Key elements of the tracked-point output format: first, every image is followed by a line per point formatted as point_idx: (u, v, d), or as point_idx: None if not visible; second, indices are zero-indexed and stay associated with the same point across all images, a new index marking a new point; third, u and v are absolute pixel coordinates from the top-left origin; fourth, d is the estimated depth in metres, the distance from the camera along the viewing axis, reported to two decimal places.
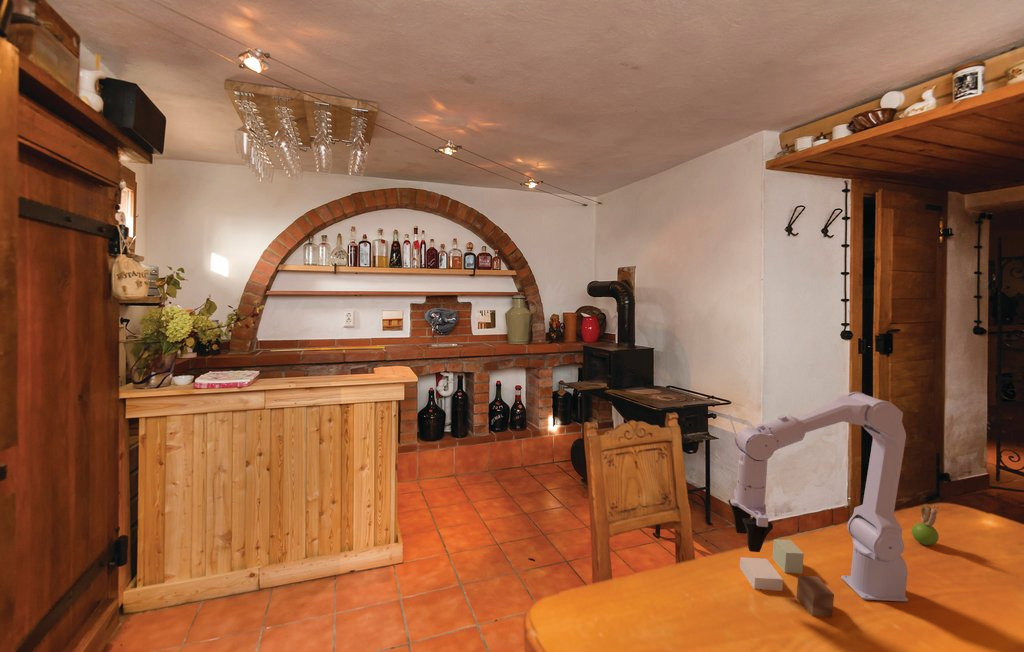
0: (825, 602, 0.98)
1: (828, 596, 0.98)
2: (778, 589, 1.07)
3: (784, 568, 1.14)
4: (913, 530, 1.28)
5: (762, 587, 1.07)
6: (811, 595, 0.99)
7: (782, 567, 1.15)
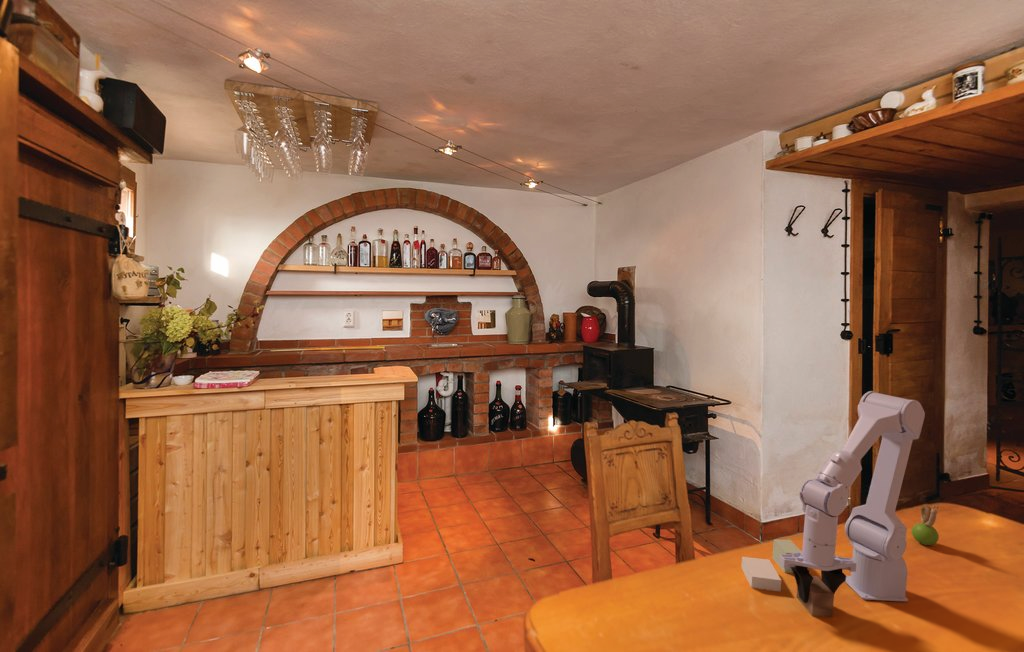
0: (826, 601, 0.98)
1: (828, 596, 0.98)
2: (776, 590, 1.07)
3: (784, 568, 1.14)
4: (913, 530, 1.28)
5: (760, 586, 1.07)
6: (812, 595, 0.99)
7: (782, 567, 1.15)
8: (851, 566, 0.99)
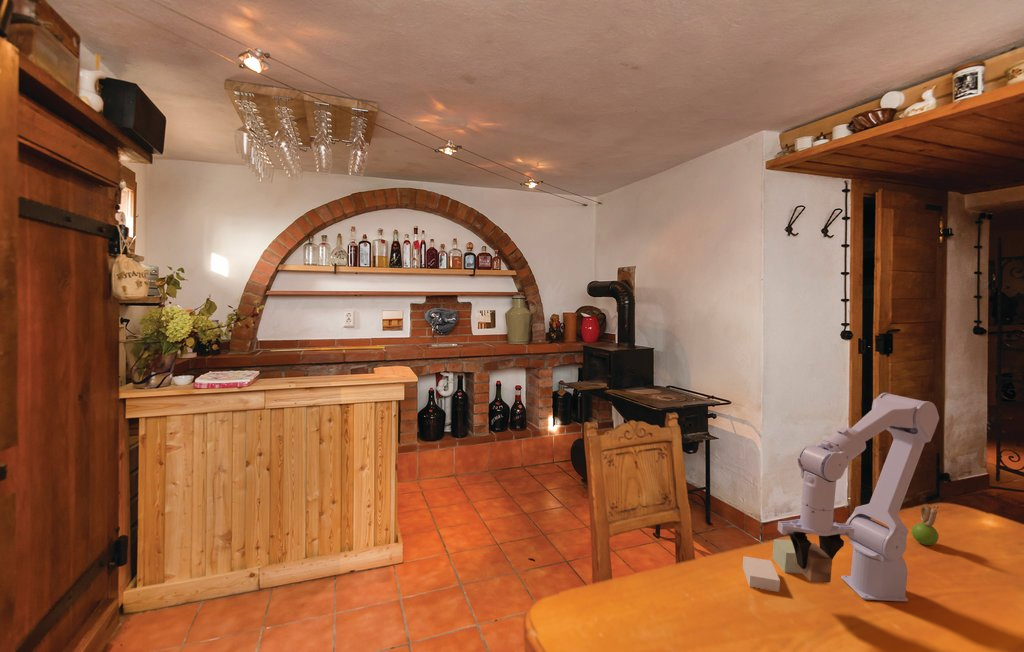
0: (824, 567, 0.98)
1: (826, 561, 0.98)
2: (775, 590, 1.06)
3: (784, 568, 1.14)
4: (913, 530, 1.28)
5: (758, 586, 1.07)
6: (810, 560, 0.99)
7: (782, 567, 1.15)
8: (849, 532, 0.99)
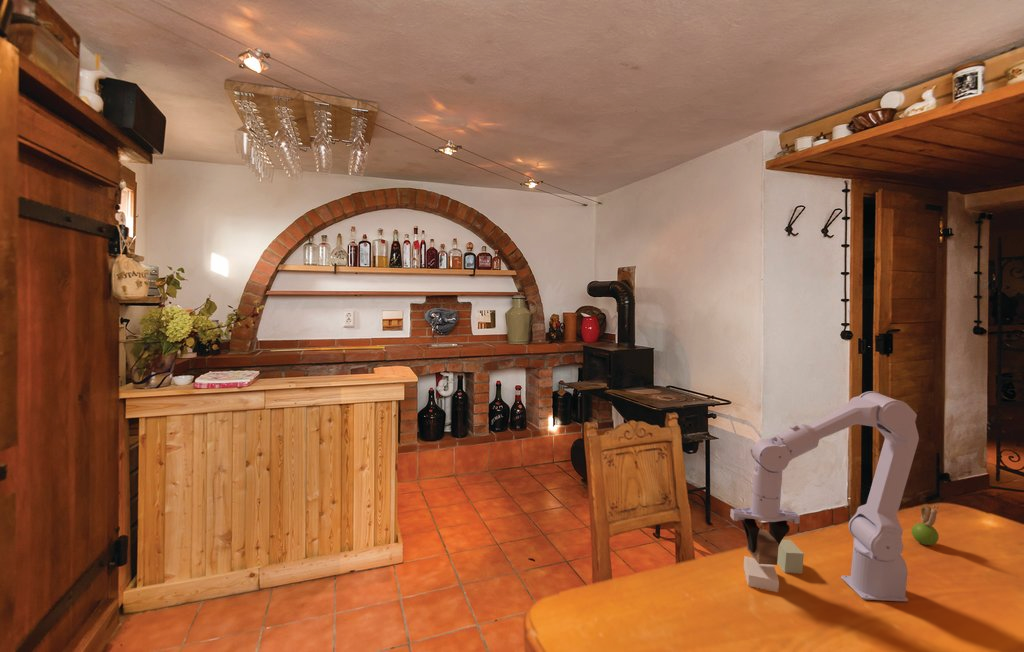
0: (771, 550, 1.07)
1: (773, 545, 1.07)
2: (774, 590, 1.06)
3: (784, 568, 1.14)
4: (913, 530, 1.28)
5: (756, 585, 1.08)
6: (758, 545, 1.08)
7: (782, 567, 1.15)
8: (795, 518, 1.08)
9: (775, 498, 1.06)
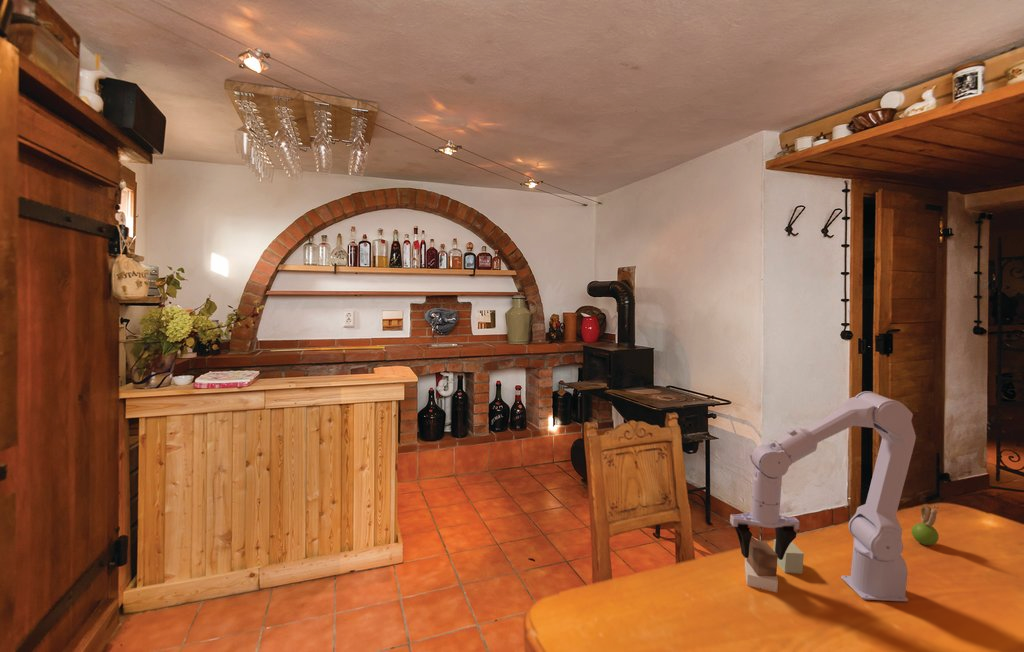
0: (770, 562, 1.07)
1: (772, 557, 1.07)
2: (773, 590, 1.06)
3: (784, 568, 1.14)
4: (913, 530, 1.28)
5: (755, 585, 1.08)
6: (757, 556, 1.08)
7: (782, 567, 1.15)
8: (794, 524, 1.08)
9: (775, 504, 1.06)
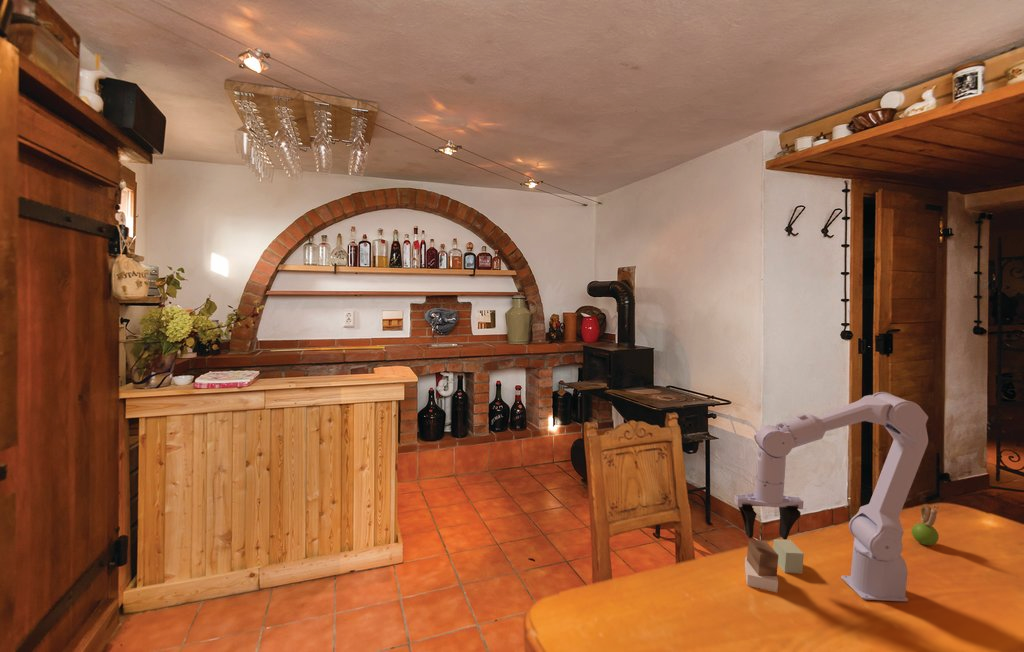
0: (771, 562, 1.07)
1: (773, 557, 1.07)
2: (773, 590, 1.06)
3: (784, 568, 1.14)
4: (913, 530, 1.28)
5: (755, 585, 1.08)
6: (758, 556, 1.08)
7: (782, 567, 1.15)
8: (798, 504, 1.09)
9: (779, 483, 1.07)
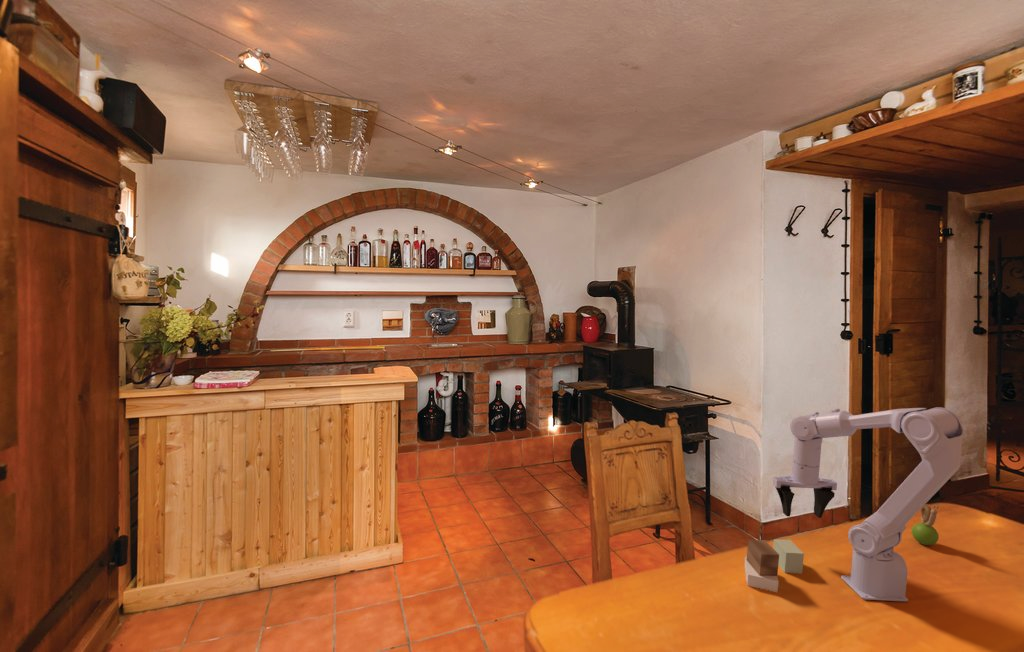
0: (772, 562, 1.07)
1: (774, 556, 1.07)
2: (773, 590, 1.06)
3: (784, 568, 1.14)
4: (913, 530, 1.28)
5: (756, 585, 1.08)
6: (759, 556, 1.08)
7: (782, 567, 1.15)
8: (832, 485, 1.19)
9: (815, 466, 1.17)
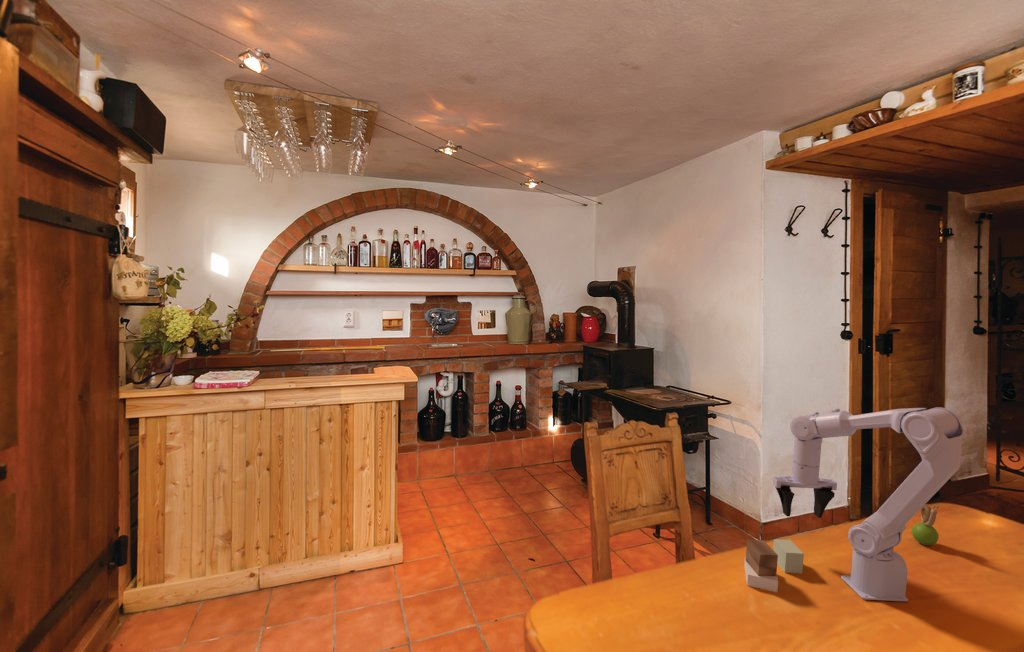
0: (770, 562, 1.07)
1: (772, 557, 1.07)
2: (773, 590, 1.06)
3: (784, 568, 1.14)
4: (913, 530, 1.28)
5: (756, 585, 1.08)
6: (758, 557, 1.08)
7: (782, 567, 1.15)
8: (832, 485, 1.19)
9: (815, 466, 1.17)
